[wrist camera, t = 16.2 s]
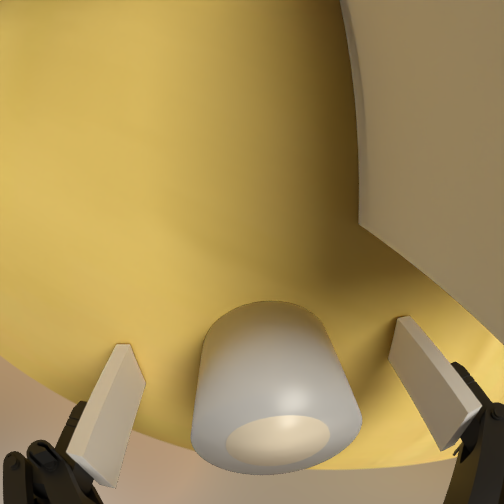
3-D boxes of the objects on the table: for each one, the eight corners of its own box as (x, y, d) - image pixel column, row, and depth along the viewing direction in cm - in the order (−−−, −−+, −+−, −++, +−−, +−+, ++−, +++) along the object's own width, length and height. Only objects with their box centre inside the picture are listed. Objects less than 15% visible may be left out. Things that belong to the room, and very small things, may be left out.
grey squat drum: (191, 306, 12) (169, 399, 7) (332, 293, 12) (379, 376, 7) (213, 398, 14) (209, 479, 9) (323, 387, 14) (347, 463, 9)
